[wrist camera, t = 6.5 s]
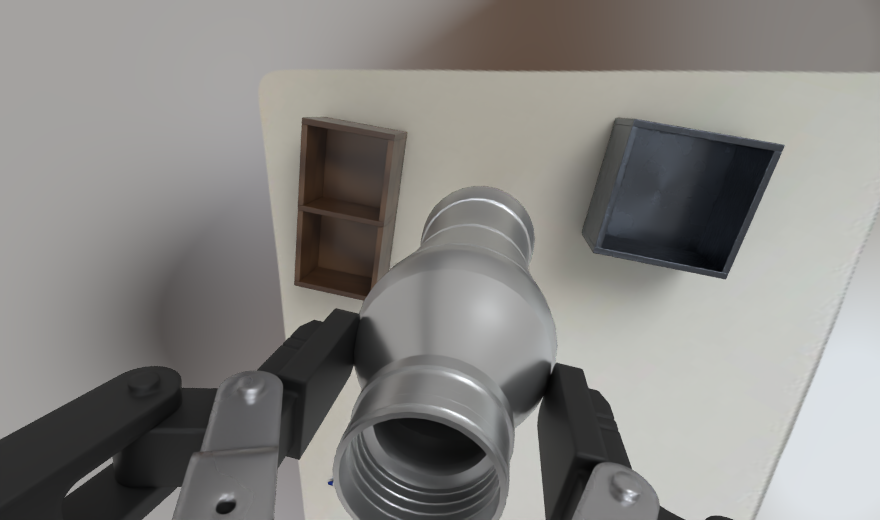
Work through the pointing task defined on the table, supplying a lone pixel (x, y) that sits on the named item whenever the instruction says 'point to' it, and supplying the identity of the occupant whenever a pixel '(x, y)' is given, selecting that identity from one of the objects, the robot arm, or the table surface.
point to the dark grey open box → (677, 195)
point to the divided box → (346, 204)
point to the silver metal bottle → (447, 367)
